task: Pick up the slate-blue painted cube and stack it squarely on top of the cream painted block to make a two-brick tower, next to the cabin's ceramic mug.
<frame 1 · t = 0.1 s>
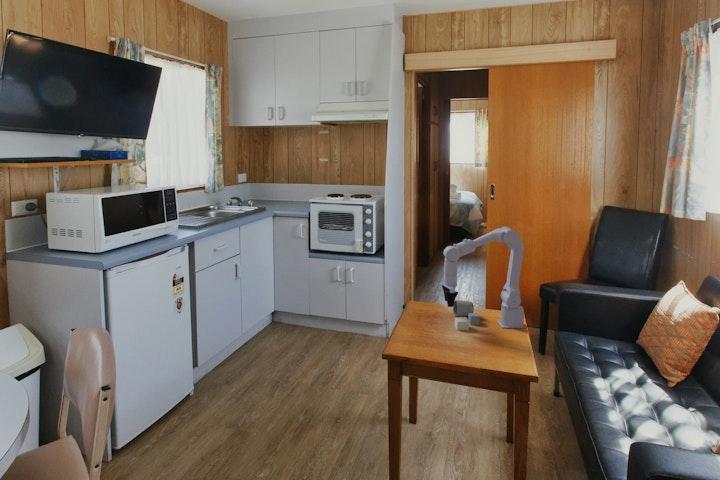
hand: (448, 303, 224), 10 cm above the table, fingers open, 7 cm apart
blue cube: (473, 323, 229), on the table
cream block: (461, 328, 223), on the table
ceramic mug: (461, 315, 239), on the table
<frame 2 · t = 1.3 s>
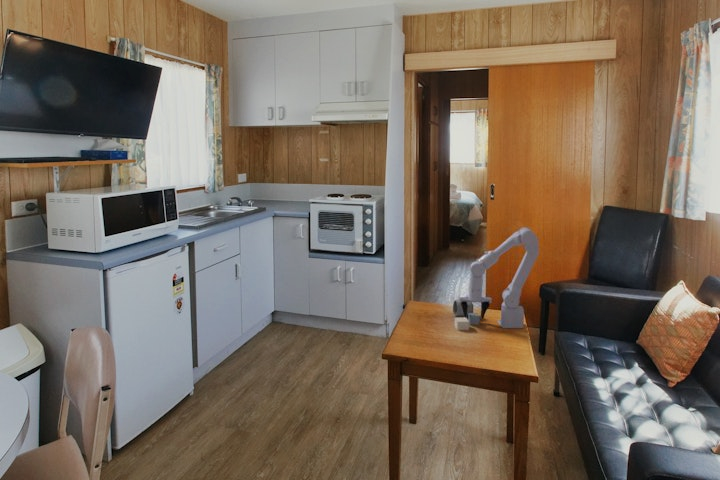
hand: (473, 317, 229), 2 cm above the table, fingers open, 7 cm apart
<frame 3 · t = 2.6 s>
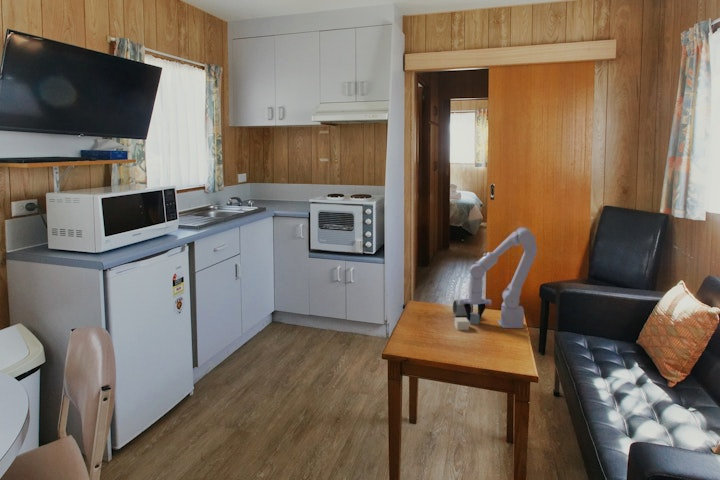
hand: (473, 319, 229), 1 cm above the table, fingers closed on blue cube, 4 cm apart
blue cube: (473, 322, 229), on the table, touching gripper
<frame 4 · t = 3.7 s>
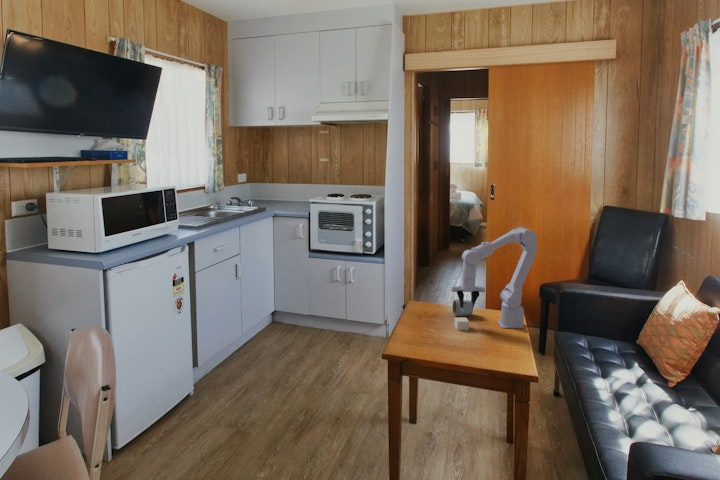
hand: (466, 307, 224), 9 cm above the table, fingers closed on blue cube, 4 cm apart
blue cube: (466, 310, 224), point 7 cm above the table, touching gripper
everything else where it was.
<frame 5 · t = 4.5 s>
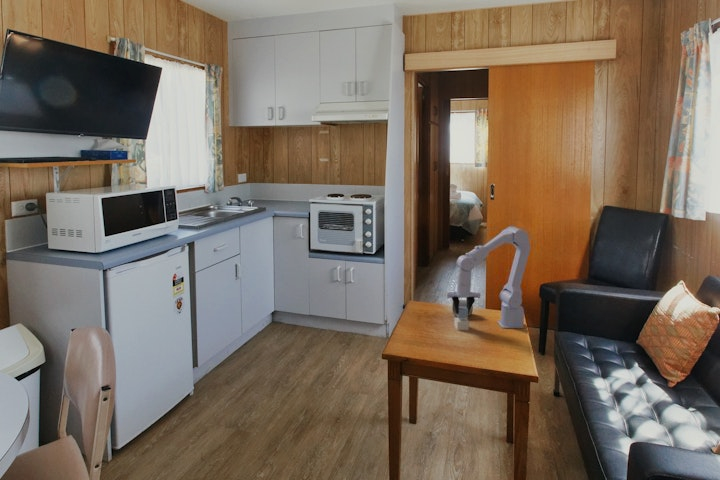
hand: (462, 313, 222), 7 cm above the table, fingers closed on blue cube, 4 cm apart
blue cube: (462, 316, 222), point 5 cm above the table, touching gripper
when the fingers open (7 cm above the table, at t = 5.1 s): blue cube drops 1 cm, point 4 cm above the table.
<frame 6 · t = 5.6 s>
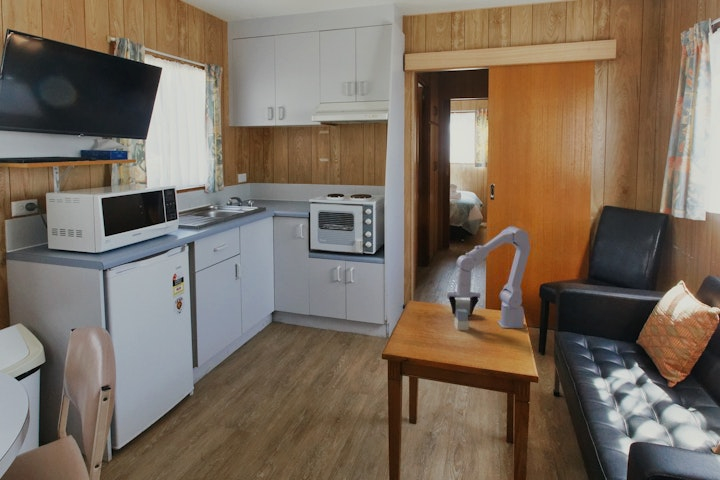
hand: (462, 313, 222), 7 cm above the table, fingers open, 7 cm apart
blue cube: (461, 319, 222), point 4 cm above the table
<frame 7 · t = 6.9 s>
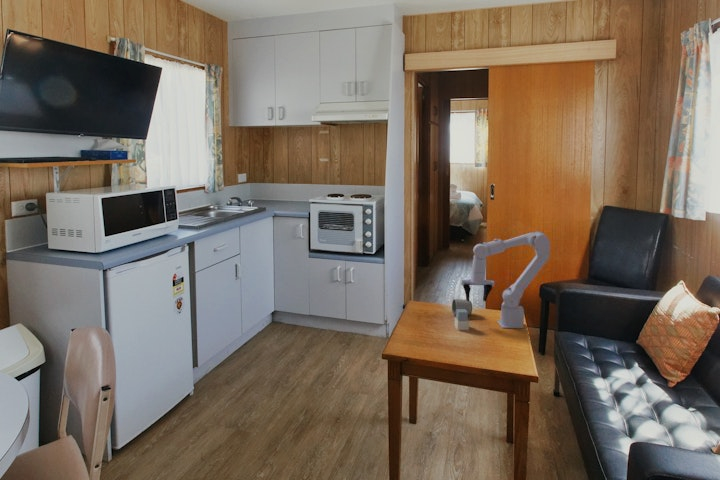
hand: (476, 300, 227), 10 cm above the table, fingers open, 7 cm apart
blue cube: (461, 319, 222), point 4 cm above the table, touching cream block
cream block: (461, 328, 223), on the table, touching blue cube
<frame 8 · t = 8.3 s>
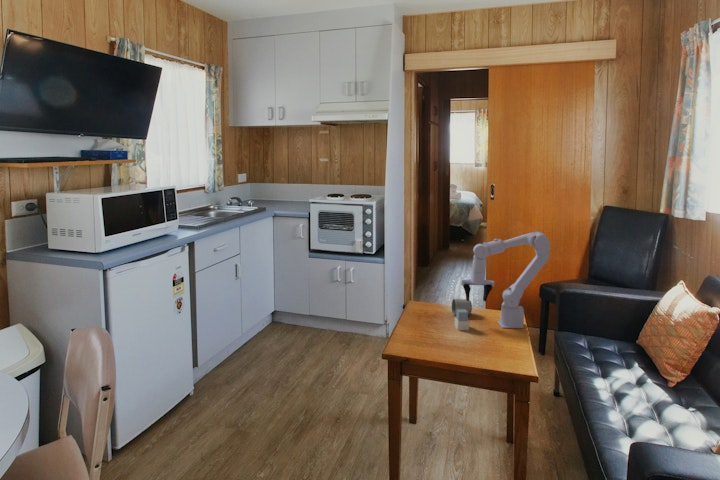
hand: (476, 300, 227), 10 cm above the table, fingers open, 7 cm apart
at the end: blue cube 0.2 cm off-centre on the cream block, point 4.0 cm above the cream block's base; blue cube tilted 0°; cream block moved 0.2 cm from its start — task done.
